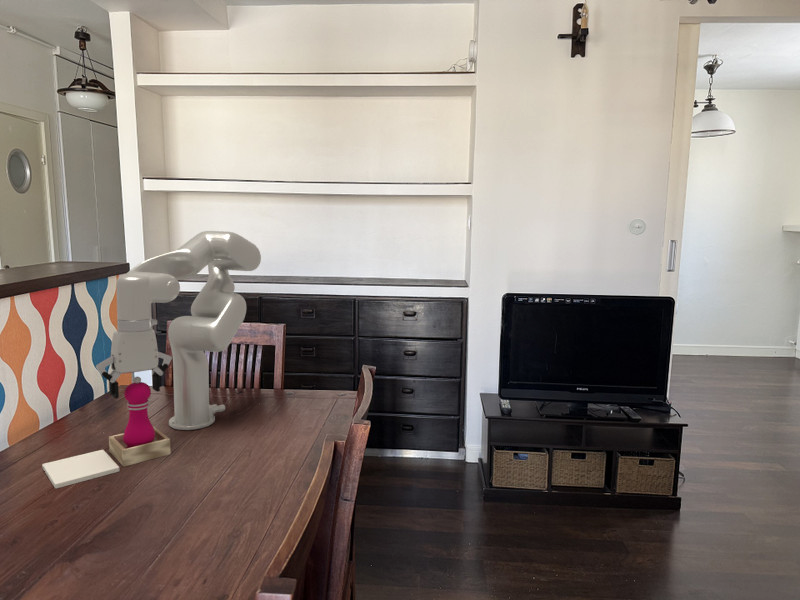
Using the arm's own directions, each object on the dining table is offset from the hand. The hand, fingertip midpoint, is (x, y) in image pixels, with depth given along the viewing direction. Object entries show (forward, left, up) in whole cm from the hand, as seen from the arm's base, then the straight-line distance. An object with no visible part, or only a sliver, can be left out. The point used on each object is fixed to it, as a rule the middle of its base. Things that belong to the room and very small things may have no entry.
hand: (136, 393), depth 134 cm
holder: (0, 0, -16) cm, 16 cm away
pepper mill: (0, 0, -16) cm, 16 cm away
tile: (+13, +1, -16) cm, 21 cm away
